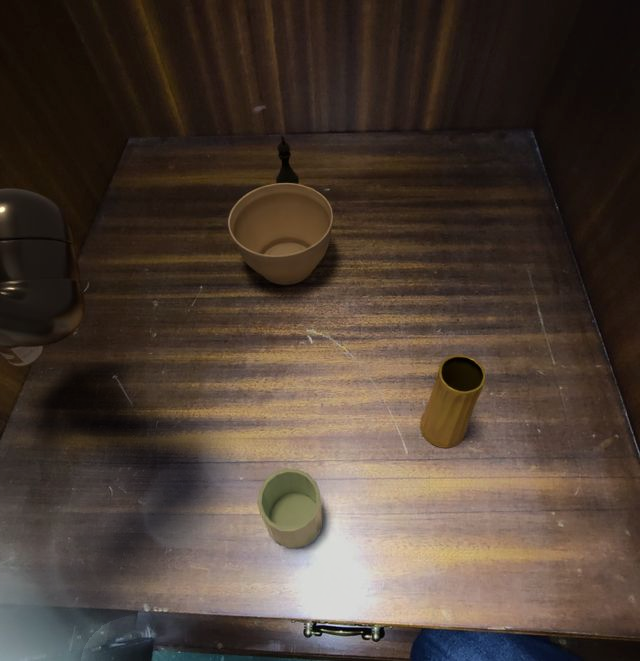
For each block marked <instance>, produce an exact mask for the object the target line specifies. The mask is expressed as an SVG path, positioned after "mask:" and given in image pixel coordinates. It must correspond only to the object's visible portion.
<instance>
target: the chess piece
mask: <svg viewBox="0 0 640 661" xmlns="http://www.w3.org/2000/svg"><path fill="white" fill-rule="evenodd" d="M290 150H291V145H290V144H289V143H287V142H286V139H285V137H284V135H281V136H280V142H279V143H278V145H277V151H278V153H277V156H278V158H279V159H280V161H281V168H280V170H279V173H278V174H277V177H276V179H275V182H276V183H275V184H277V183H294V184H299V181H300V178H299V177H298V175H297V173H296V172H295V171H294V170H293V168H292V166H291V165H290V158H291V151H290Z"/></svg>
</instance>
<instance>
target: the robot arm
mask: <svg viewBox="0 0 640 661" xmlns="http://www.w3.org/2000/svg"><path fill="white" fill-rule="evenodd" d="M75 240H76V239H75V234H74V229H73V226H72V223H71V220H70V218H69V217H68V215H67V213H66V212H65V210H63V208H62V207H61V206H60V205H59V204H58V203H56V202H55V201H53V199H50V197H48V196H45V195H43V194H41V193H38V192H36V191H33V190H28V189H24V188H23V189H22V188H15V187H14V188H0V349H12V348H17V347H37V346H43V347H44V346H48V345H52V344H56V343H58V342H61V341H63V340H65V339H66V338H68V337H70V335H73V333H74V332H75V331H76V330H77V329H78V328H79V327H80V325H81V324H82V322H83V320H84V317H85V313H86V301H85V296H84V295H85V294H84V289H83V284H82V280H81V272H80V265H79V260H78V253H77V252H78V251H77V248H76V241H75Z"/></svg>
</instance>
